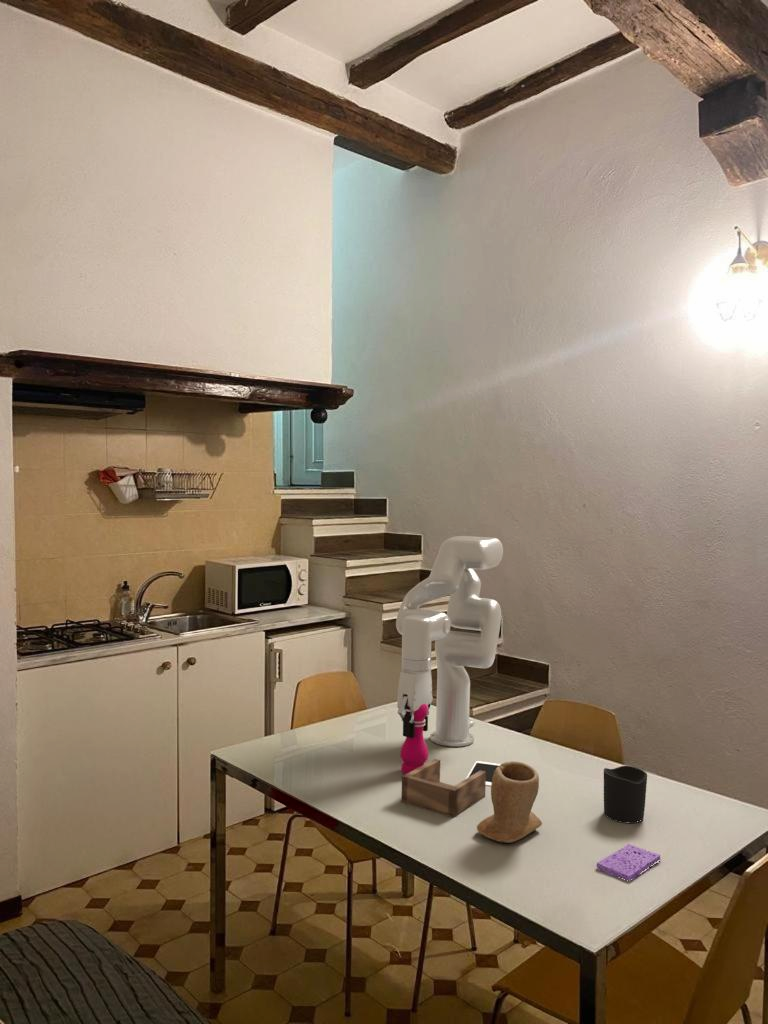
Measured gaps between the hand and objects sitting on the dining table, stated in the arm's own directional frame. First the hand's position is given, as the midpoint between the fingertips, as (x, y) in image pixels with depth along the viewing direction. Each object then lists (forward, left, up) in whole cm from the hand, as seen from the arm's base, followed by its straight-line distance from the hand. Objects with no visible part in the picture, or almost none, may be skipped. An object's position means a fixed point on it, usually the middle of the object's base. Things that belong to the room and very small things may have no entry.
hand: (415, 732), depth 203 cm
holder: (+10, +15, -10) cm, 21 cm away
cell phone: (-10, +15, -11) cm, 21 cm away
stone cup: (+18, +36, -10) cm, 42 cm away
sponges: (+17, +60, -11) cm, 64 cm away
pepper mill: (+1, 0, -10) cm, 10 cm away
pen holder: (-6, +52, -10) cm, 53 cm away
